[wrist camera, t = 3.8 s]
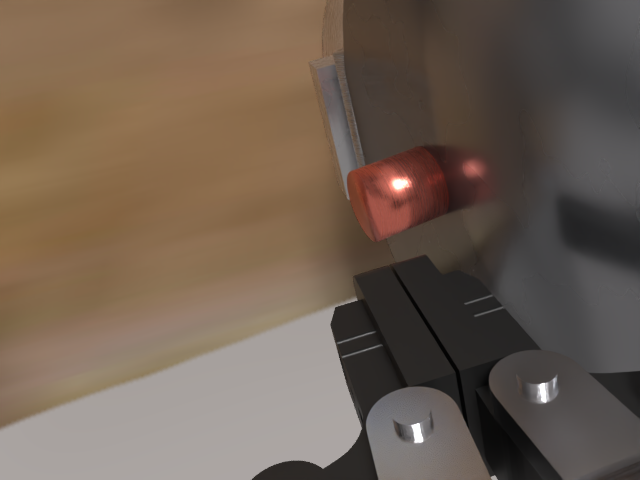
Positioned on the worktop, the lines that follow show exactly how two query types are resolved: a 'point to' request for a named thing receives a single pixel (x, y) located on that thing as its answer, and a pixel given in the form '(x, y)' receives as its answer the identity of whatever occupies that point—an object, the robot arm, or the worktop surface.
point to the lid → (506, 155)
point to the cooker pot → (334, 95)
